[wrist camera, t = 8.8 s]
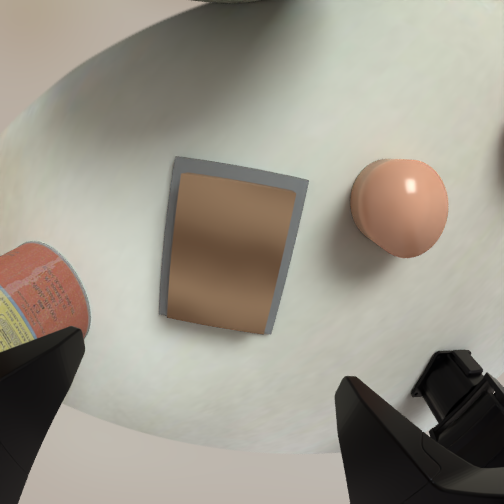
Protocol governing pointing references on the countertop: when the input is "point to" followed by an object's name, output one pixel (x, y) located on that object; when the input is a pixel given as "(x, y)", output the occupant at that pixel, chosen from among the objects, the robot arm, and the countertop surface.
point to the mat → (243, 175)
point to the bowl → (228, 1)
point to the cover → (227, 251)
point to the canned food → (39, 295)
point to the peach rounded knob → (400, 206)
